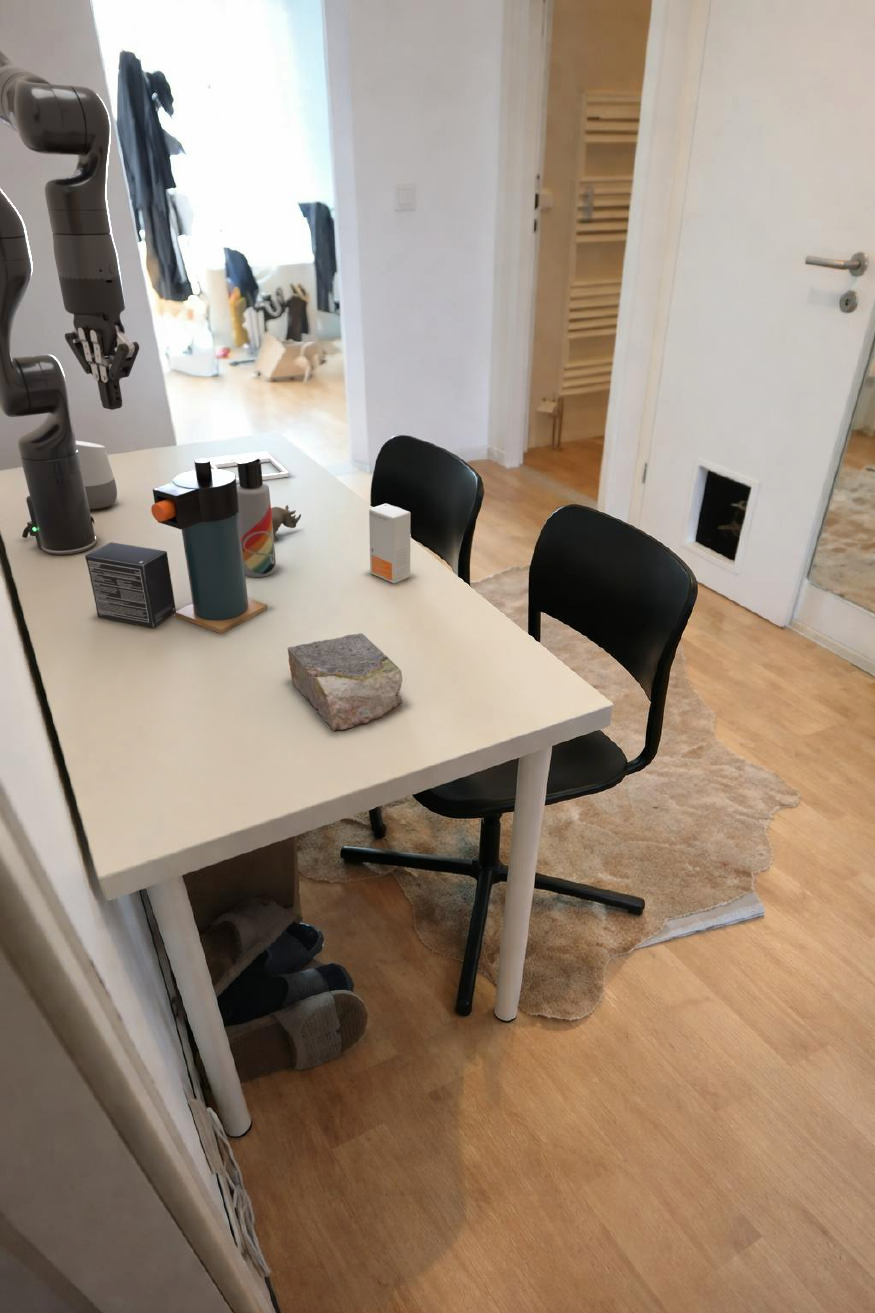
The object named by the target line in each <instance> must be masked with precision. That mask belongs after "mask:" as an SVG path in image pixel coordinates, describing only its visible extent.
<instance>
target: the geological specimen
mask: <svg viewBox="0 0 875 1313" xmlns="http://www.w3.org/2000/svg"><path fill="white" fill-rule="evenodd" d="M287 654H288V665H289V671H290V678H291V682H292V684H293V686H294V687H295V688H297V690H298V691H299V692H300V694H301V695H302V696H303V697H304V698H305V699H306V700H307V701H309V702H310V703H309V704H310V705H311V706H312V707H313V708H314V709H315V710H317V711H318V714H319V715H320V716H321V717H322V718H323V720H324V721H325V722H326V724H327V725H328V726H329V727H330V729H332V731H337V730H339V731H343V730H348V729H350V728H351V729H352V728H353V727H355V726H357V725H359V724H368V723H369V722H370V721H371V720H375V719H378V718H381V717H382V716H383V715H385V714H386V713H388V712H389V711H391V710H393V708H394V709H395V708H396V707H398V705H402V704H403V699H402V696H401V695H400V690H402V684H403V674H402V670H401V668H400V667H399V666H398V665H396V663H395V662H393V660H391V659H390V657H388V656H387V655H386V654H384V652H383V651H382V650H381V649H380V648H379V647H378V646H376V645H375V643H374V642H373V641H371V640H370V639H369V638H368V637H367V636H366V635H365V634H363V633H362V632H361V633H354V634H347V635H344V636H341V637H335V638H330V639H325V640H317V641H313V642H309V643H304V644H299V645H294V646H288V647H287Z"/></svg>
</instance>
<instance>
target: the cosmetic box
mask: <svg viewBox="0 0 875 1313" xmlns="http://www.w3.org/2000/svg"><path fill="white" fill-rule="evenodd" d="M411 514H412V513H411V512H410V511H408V510H406V509H403V508H401V507H399V506H395V505H391V504H389V503H387V502H386V503H383V504H380V505H376V506H374V507H371V508H369V509H368V521H369V522H368V523H369V524H368V526H369V571H370V574H371V575H374V576H376V577H377V578H380V579H383V580H385V581H387V582H389V583H391V584H393V585H395V584H396V583H397V584H398V583H400V582H401V581H404V580H406V579H409V578H410V577H411Z"/></svg>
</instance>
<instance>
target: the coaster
mask: <svg viewBox="0 0 875 1313" xmlns="http://www.w3.org/2000/svg"><path fill="white" fill-rule="evenodd" d="M248 604H249V606H248V609H247V611H246V612H245V613H243V614H242V615H240V616H238V617H235V618H232V619H227V620H206V619H202V618H200V617H198V616H197V615H196V614H195V613H194V610H193V603H190V604H188V605H186V606H184V607H182V608H180V609H178V610H176V612H175V613H174V615H175V617H177V618H179V619H181V620H184V621H186V622H190V623H191V624H195V625H197V626H200V627H203V628H205V629H208V630H210V631H212V632H215V633H218V634H221V635H222V634H224V633H226V632H228V631H230V630H232V629H233V628H235V627H237V626H239V625H241V624H242V623H244V622H246V621H248V620H250V619H252V618H253V617H256V616H257V615H259V614H261V613H263V612H265V611H266V610H268V604H266V603H263V602H260V601H259V600H255V599H251V598H249V597H248Z"/></svg>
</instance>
